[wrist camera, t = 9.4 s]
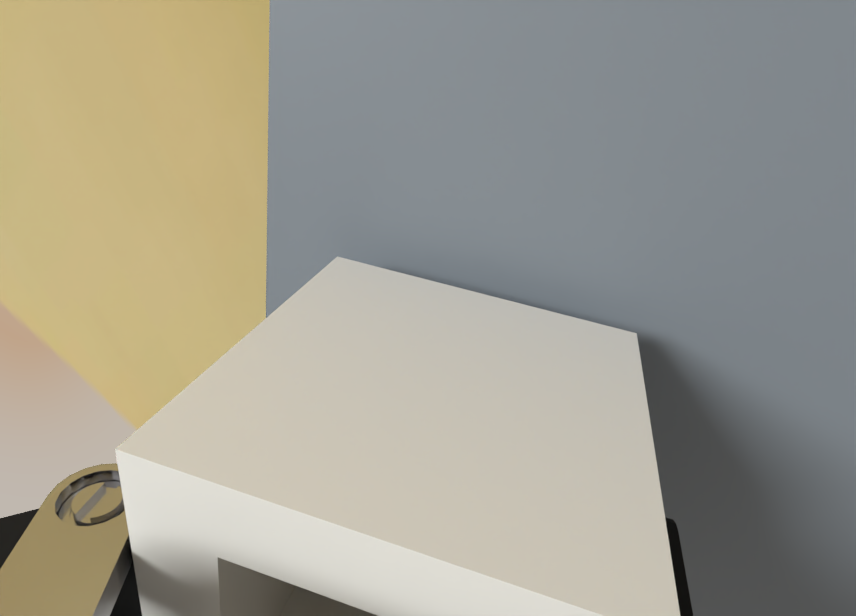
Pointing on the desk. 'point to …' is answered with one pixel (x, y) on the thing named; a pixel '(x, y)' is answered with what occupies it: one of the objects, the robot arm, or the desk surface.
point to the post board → (617, 227)
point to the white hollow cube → (403, 464)
